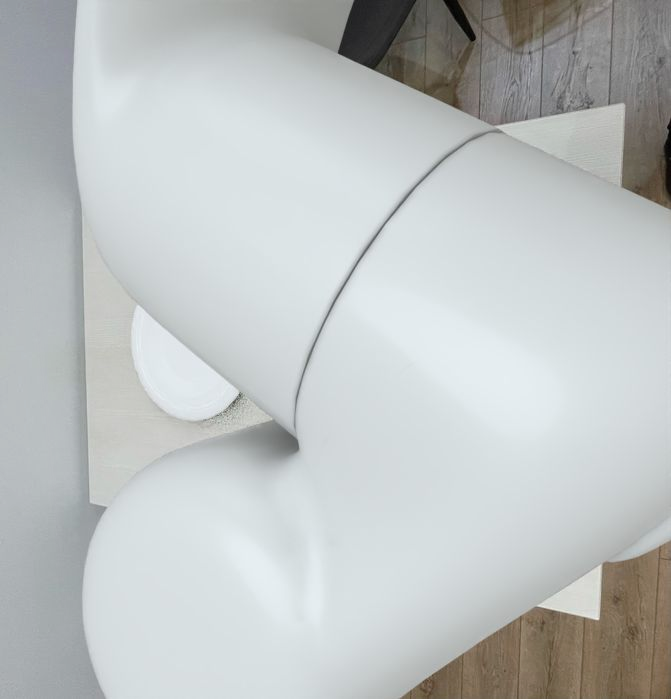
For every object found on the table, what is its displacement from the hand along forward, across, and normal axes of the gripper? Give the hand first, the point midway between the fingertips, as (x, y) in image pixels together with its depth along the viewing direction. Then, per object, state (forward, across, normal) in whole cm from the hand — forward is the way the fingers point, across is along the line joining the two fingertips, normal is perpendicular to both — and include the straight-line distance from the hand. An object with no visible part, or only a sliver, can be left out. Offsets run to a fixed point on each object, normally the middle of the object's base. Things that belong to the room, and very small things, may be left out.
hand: (489, 411), depth 38 cm
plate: (+29, +41, -32) cm, 59 cm away
